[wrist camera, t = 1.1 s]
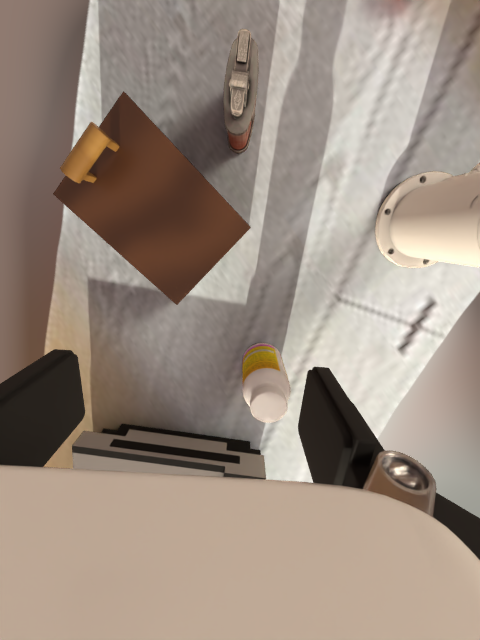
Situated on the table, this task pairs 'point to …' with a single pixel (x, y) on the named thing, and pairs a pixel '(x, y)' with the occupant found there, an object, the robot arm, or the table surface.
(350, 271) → the table surface
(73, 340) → the table surface
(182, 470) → the game console
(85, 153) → the lid
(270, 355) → the supplement bottle
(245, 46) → the lighter
